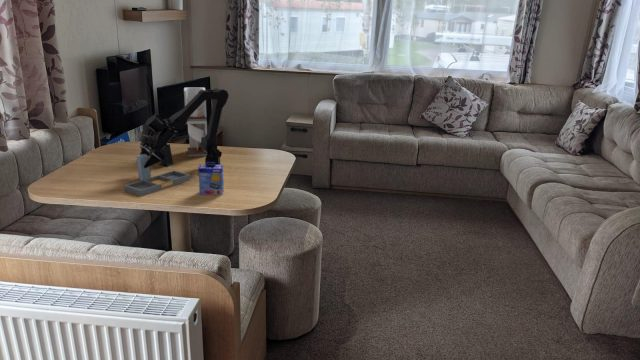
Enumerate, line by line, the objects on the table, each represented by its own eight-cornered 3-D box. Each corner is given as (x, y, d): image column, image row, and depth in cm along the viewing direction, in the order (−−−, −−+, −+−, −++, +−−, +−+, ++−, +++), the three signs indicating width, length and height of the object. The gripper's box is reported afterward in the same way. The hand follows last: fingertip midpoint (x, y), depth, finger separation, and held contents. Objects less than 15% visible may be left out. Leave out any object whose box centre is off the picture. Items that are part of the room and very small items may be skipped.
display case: (187, 150, 273) (184, 87, 262) (207, 150, 276) (204, 87, 265) (187, 156, 263) (184, 90, 252) (208, 155, 265) (205, 90, 254)
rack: (174, 175, 233) (174, 170, 232) (190, 179, 227) (190, 174, 227) (125, 190, 211) (124, 185, 210) (141, 196, 206) (141, 190, 205)
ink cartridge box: (199, 195, 209) (197, 162, 204) (201, 190, 214) (199, 159, 210) (222, 195, 210) (221, 163, 205) (224, 191, 215) (223, 159, 211)
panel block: (147, 176, 230) (145, 154, 226) (151, 179, 226) (149, 156, 222) (138, 178, 227) (136, 155, 224) (142, 181, 224) (140, 157, 220)
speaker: (176, 164, 249) (173, 144, 246) (167, 167, 245) (163, 146, 242) (168, 162, 254) (164, 142, 250) (158, 165, 249) (154, 145, 246)
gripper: (142, 123, 228) (120, 149, 225) (157, 132, 214) (133, 159, 212) (160, 138, 236) (139, 163, 233) (175, 147, 222) (153, 174, 219)
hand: (140, 165), depth 224 cm, fingers open, 9 cm apart
